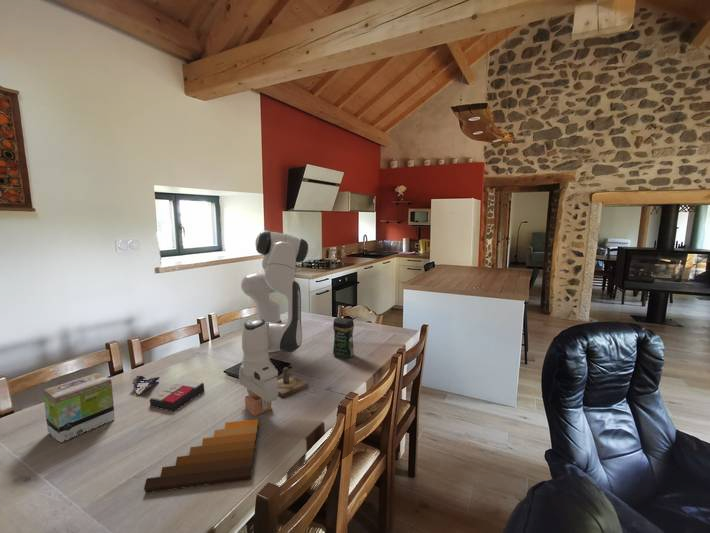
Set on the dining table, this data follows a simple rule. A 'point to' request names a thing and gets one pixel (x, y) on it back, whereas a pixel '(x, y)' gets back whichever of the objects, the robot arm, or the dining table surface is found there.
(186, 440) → the dining table surface
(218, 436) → the pan flute
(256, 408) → the collar
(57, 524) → the dining table surface
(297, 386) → the post stand
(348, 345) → the coffee jar
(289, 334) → the robot arm
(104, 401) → the tea box
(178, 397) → the black and red box
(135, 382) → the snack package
